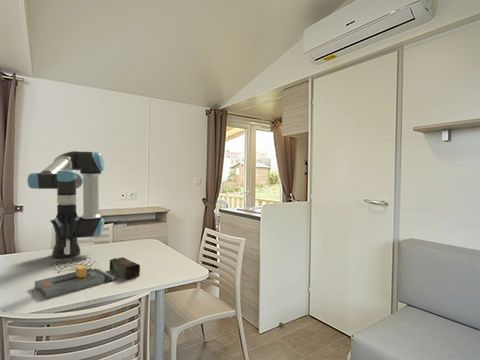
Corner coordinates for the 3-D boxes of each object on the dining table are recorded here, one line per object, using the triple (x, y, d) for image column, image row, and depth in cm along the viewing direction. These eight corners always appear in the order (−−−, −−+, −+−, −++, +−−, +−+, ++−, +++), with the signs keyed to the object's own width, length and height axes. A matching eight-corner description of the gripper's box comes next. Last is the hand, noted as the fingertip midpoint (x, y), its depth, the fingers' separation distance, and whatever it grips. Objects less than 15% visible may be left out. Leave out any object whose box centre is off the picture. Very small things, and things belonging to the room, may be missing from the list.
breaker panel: (34, 287, 127) (34, 281, 126) (90, 274, 145) (90, 267, 145) (45, 299, 116) (45, 291, 116) (104, 282, 134) (104, 276, 134)
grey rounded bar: (92, 273, 145) (92, 269, 145) (100, 271, 148) (100, 267, 148) (107, 282, 134) (107, 277, 134) (115, 280, 137) (115, 275, 137)
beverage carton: (123, 267, 157) (123, 255, 157) (140, 276, 144) (140, 263, 144) (108, 270, 151) (109, 258, 151) (125, 280, 138) (125, 267, 138)
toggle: (75, 275, 134) (75, 266, 134) (82, 273, 136) (82, 265, 136) (79, 277, 131) (79, 269, 131) (86, 276, 133) (86, 267, 133)
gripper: (53, 206, 123) (53, 258, 124) (85, 203, 133) (85, 252, 134) (47, 204, 128) (48, 254, 129) (78, 201, 138) (78, 248, 139)
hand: (67, 253), depth 132 cm, fingers closed
